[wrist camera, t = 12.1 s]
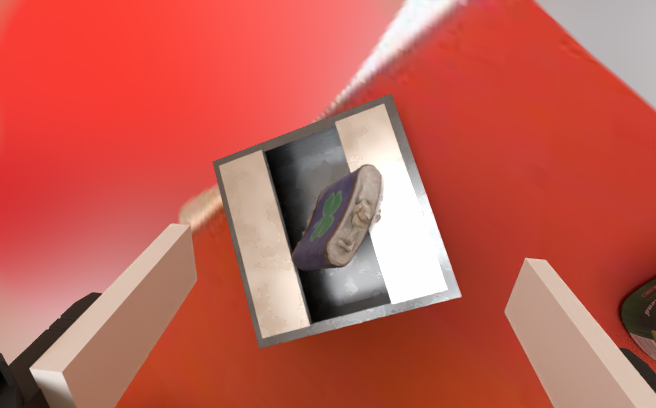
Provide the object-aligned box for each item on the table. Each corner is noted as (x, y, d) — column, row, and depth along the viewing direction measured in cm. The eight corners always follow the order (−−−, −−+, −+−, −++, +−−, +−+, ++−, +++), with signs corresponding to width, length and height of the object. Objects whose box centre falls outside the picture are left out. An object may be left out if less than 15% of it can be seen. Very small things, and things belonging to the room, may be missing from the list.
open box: (286, 327, 42) (255, 351, 33) (246, 174, 45) (208, 160, 36) (450, 284, 38) (463, 298, 30) (394, 120, 41) (390, 90, 33)
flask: (323, 182, 36) (375, 150, 26) (346, 195, 37) (405, 169, 27) (286, 263, 33) (329, 261, 23) (312, 276, 34) (364, 279, 24)
